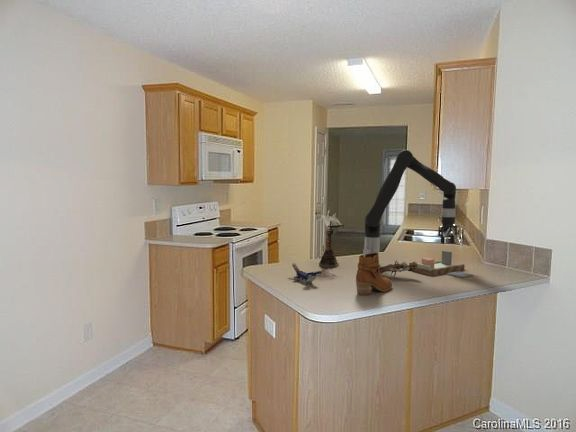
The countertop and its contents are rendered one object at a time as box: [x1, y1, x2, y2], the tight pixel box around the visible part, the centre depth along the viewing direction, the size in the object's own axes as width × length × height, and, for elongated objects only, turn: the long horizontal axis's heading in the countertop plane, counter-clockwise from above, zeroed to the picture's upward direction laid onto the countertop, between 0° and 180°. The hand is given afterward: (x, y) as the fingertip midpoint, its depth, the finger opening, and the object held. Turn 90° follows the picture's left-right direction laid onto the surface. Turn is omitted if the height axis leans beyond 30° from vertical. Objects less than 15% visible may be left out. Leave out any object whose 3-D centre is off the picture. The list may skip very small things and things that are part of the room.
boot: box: [355, 253, 393, 296], centre depth 193 cm, size 24×9×19 cm, turn 123°
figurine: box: [379, 260, 418, 279], centre depth 221 cm, size 10×10×28 cm
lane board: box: [411, 260, 466, 277], centre depth 238 cm, size 30×14×3 cm, turn 121°
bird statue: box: [318, 209, 345, 269], centre depth 245 cm, size 17×13×35 cm
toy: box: [291, 262, 322, 284], centre depth 212 cm, size 10×23×10 cm, turn 27°
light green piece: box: [416, 249, 455, 269], centre depth 236 cm, size 22×9×9 cm, turn 121°
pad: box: [446, 271, 474, 279], centre depth 226 cm, size 10×10×1 cm
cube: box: [421, 257, 436, 268], centre depth 233 cm, size 5×5×5 cm
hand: (447, 242), depth 240 cm, fingers open, 8 cm apart
